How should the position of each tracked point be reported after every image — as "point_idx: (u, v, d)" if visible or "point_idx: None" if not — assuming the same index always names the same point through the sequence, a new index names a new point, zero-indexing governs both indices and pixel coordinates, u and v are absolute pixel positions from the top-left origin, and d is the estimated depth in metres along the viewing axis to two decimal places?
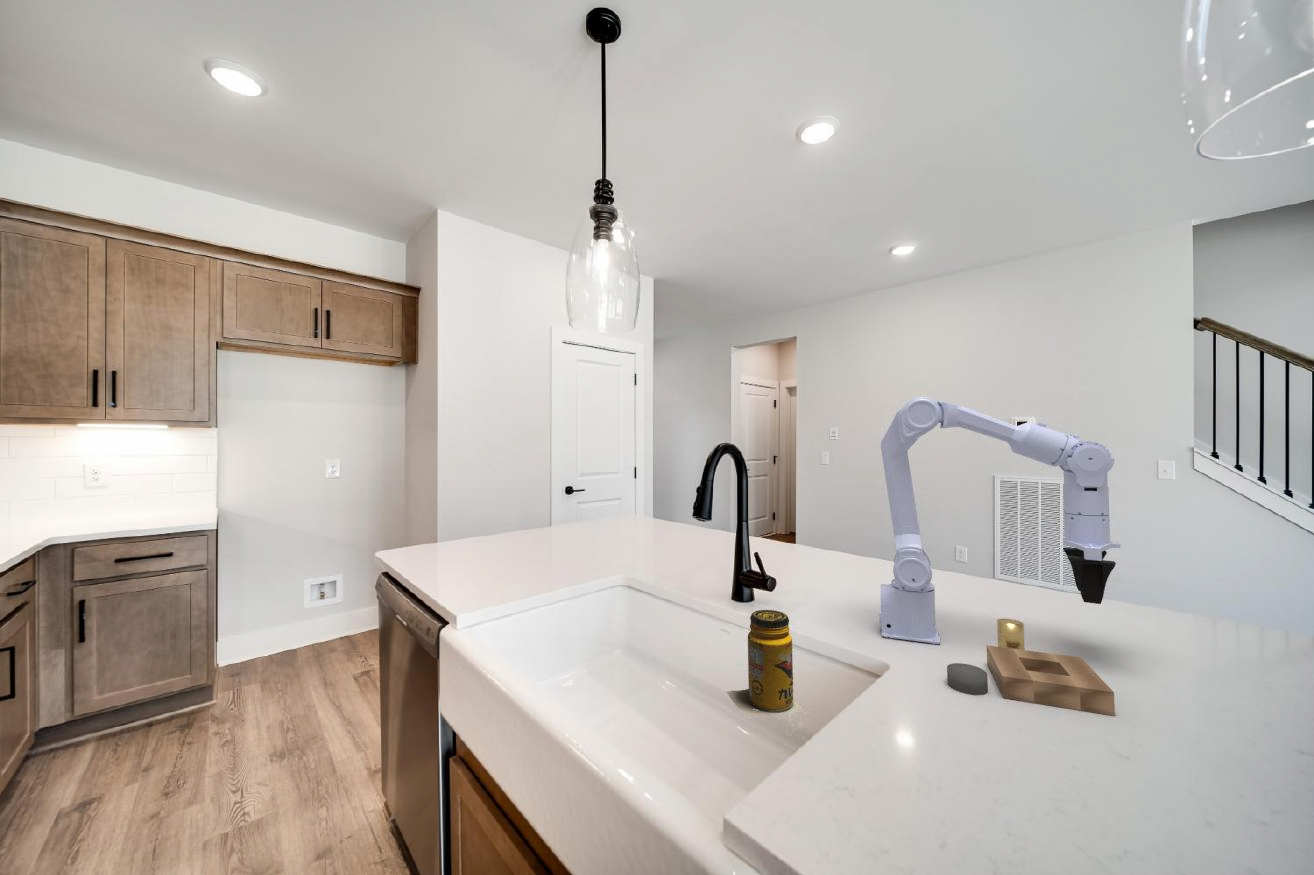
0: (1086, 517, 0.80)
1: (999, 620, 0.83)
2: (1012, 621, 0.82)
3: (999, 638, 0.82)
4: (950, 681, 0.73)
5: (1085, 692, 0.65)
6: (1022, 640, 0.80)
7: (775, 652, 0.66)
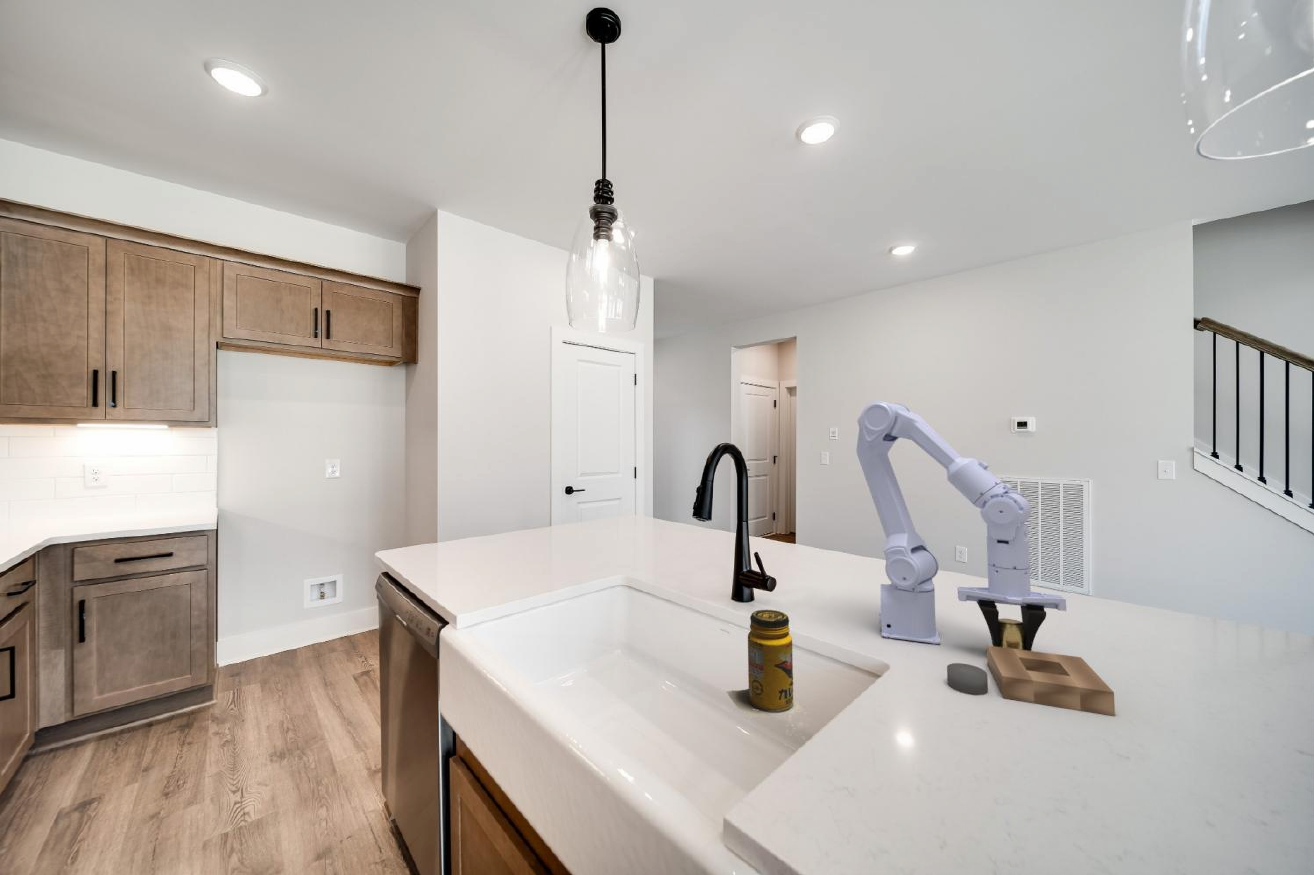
0: None
1: (999, 620, 0.83)
2: (1012, 621, 0.82)
3: (999, 638, 0.82)
4: (950, 681, 0.73)
5: (1085, 692, 0.65)
6: (1022, 640, 0.80)
7: (775, 652, 0.66)
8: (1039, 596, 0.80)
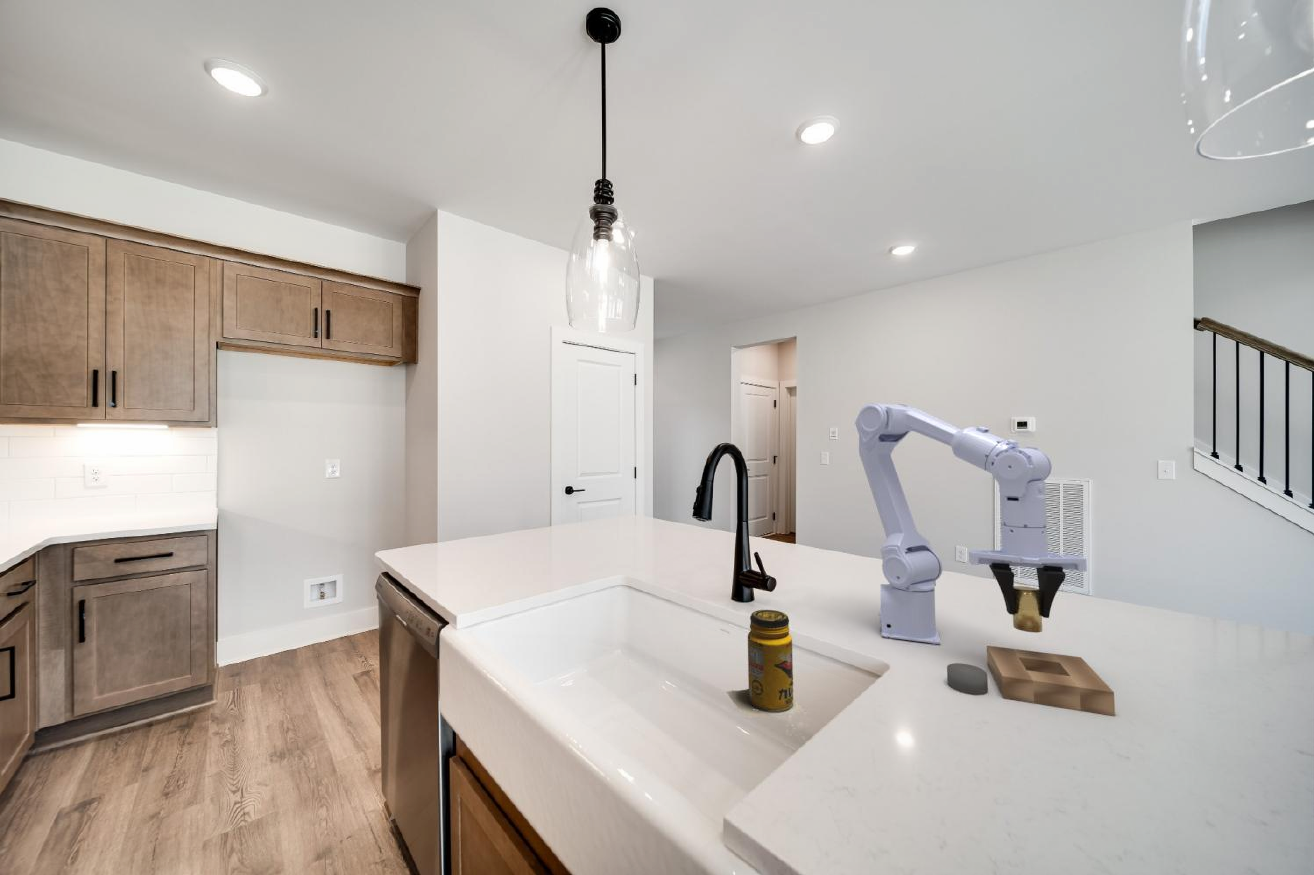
0: (1001, 526, 0.79)
1: (1014, 587, 0.78)
2: (1027, 588, 0.77)
3: None
4: (950, 681, 0.73)
5: (1085, 692, 0.65)
6: (1039, 607, 0.75)
7: (775, 652, 0.66)
8: (1057, 557, 0.75)
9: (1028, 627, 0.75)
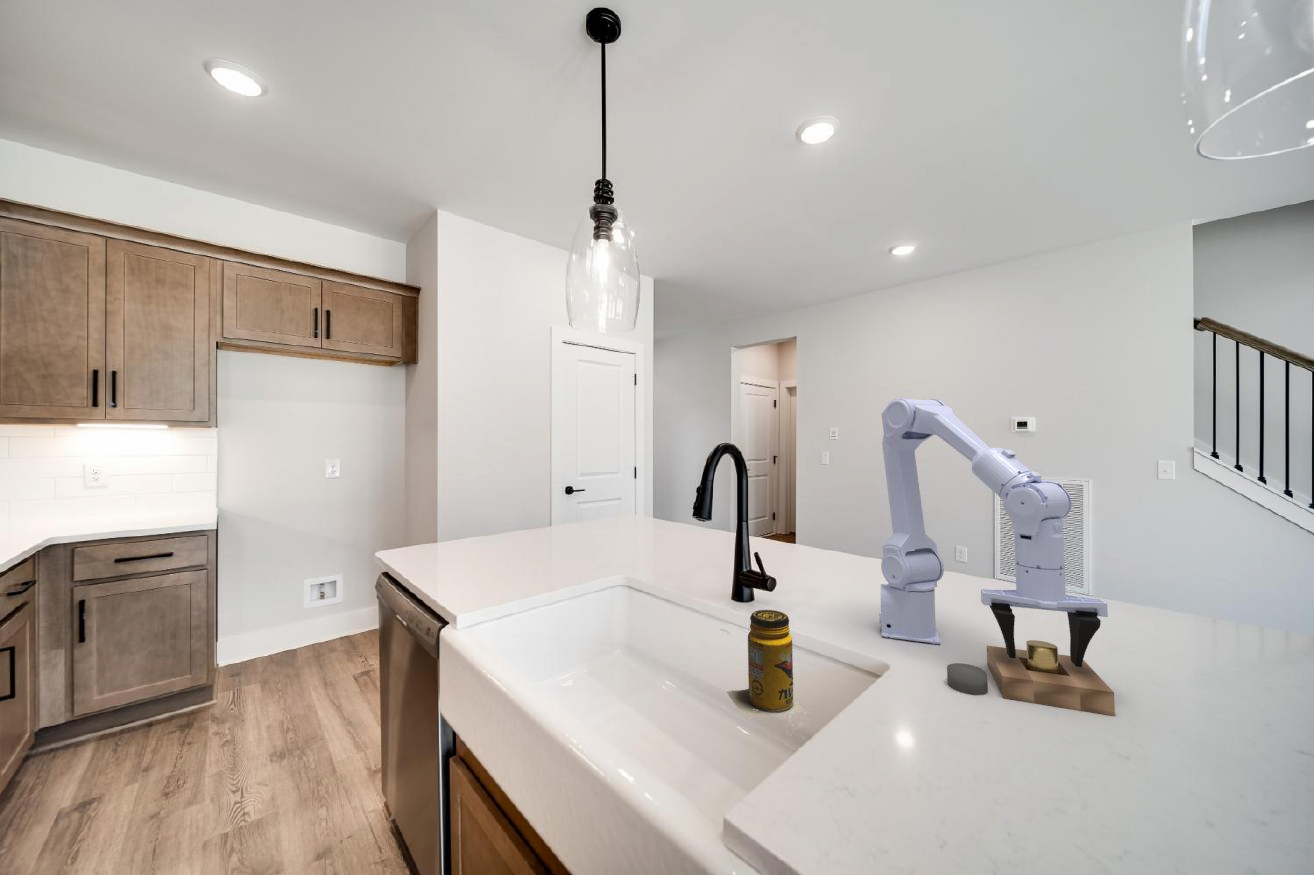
0: (1015, 565, 0.74)
1: (1029, 642, 0.73)
2: (1043, 644, 0.73)
3: (1029, 663, 0.72)
4: (950, 681, 0.73)
5: (1085, 692, 0.65)
6: (1056, 666, 0.71)
7: (775, 652, 0.66)
8: (1075, 600, 0.71)
9: None
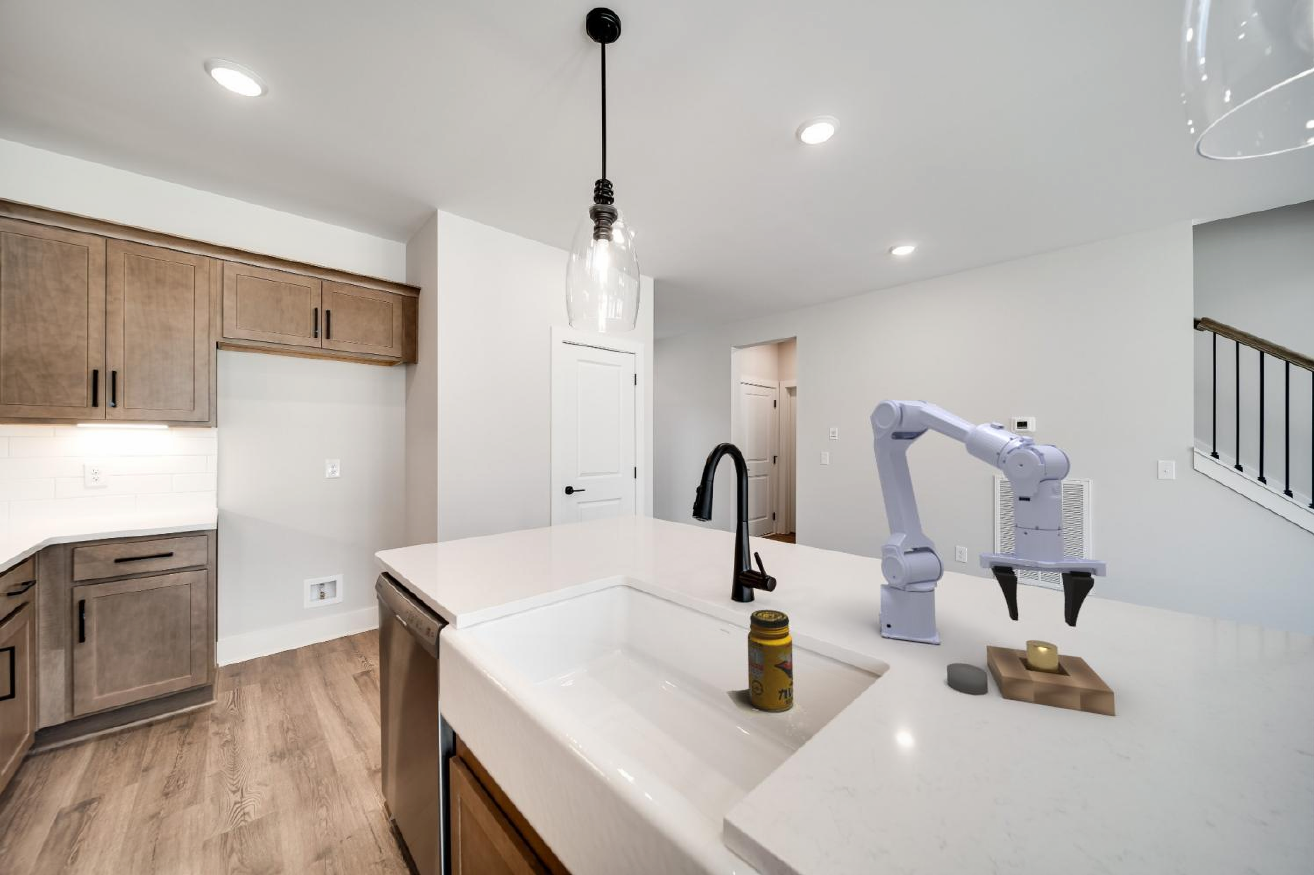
0: (1014, 528, 0.74)
1: (1029, 642, 0.73)
2: (1043, 643, 0.73)
3: (1029, 663, 0.72)
4: (950, 681, 0.73)
5: (1085, 692, 0.65)
6: (1056, 666, 0.71)
7: (775, 652, 0.66)
8: (1074, 561, 0.71)
9: None
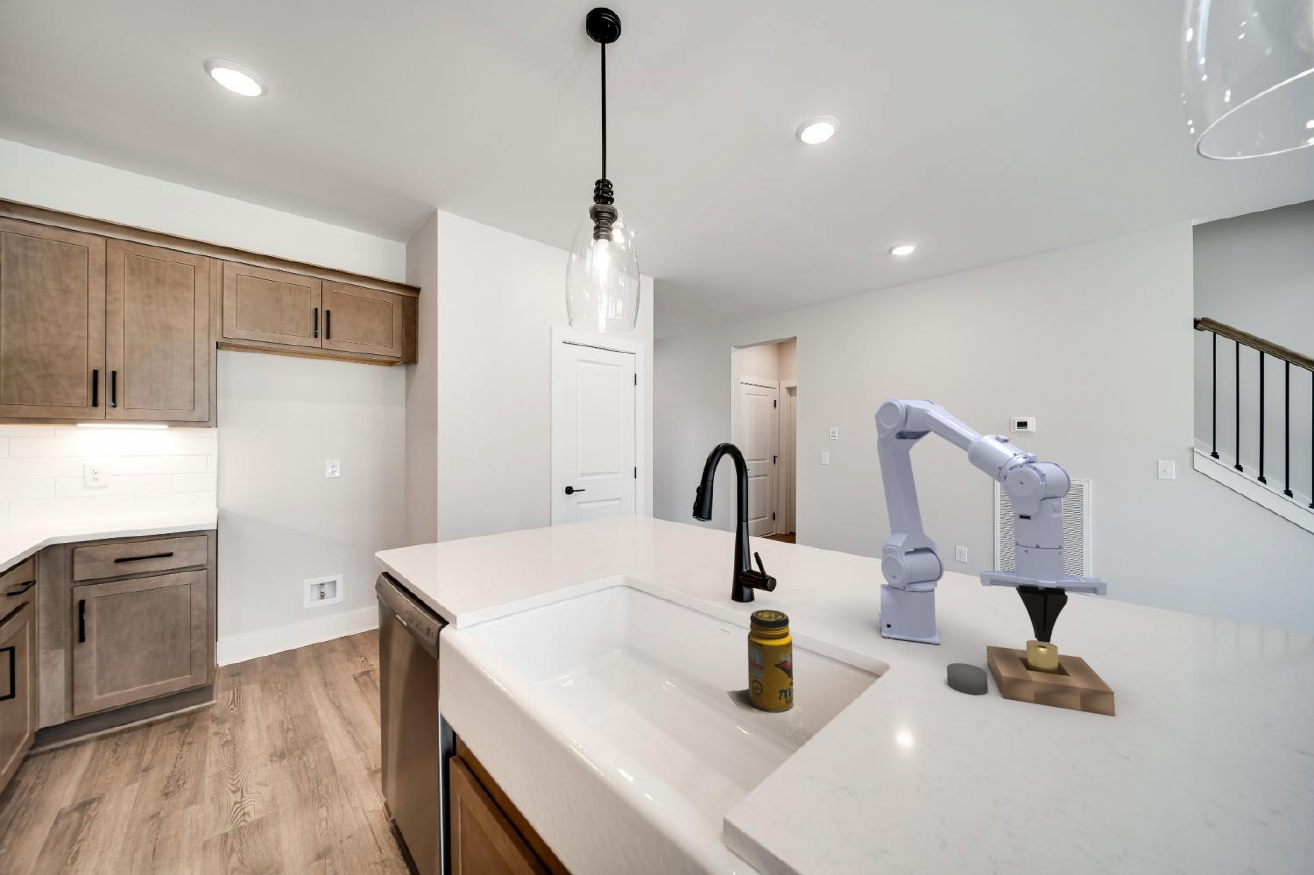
0: None
1: (1029, 642, 0.73)
2: (1043, 643, 0.73)
3: (1029, 663, 0.72)
4: (950, 681, 0.72)
5: (1085, 692, 0.65)
6: (1056, 666, 0.71)
7: (775, 652, 0.66)
8: (1075, 579, 0.71)
9: None
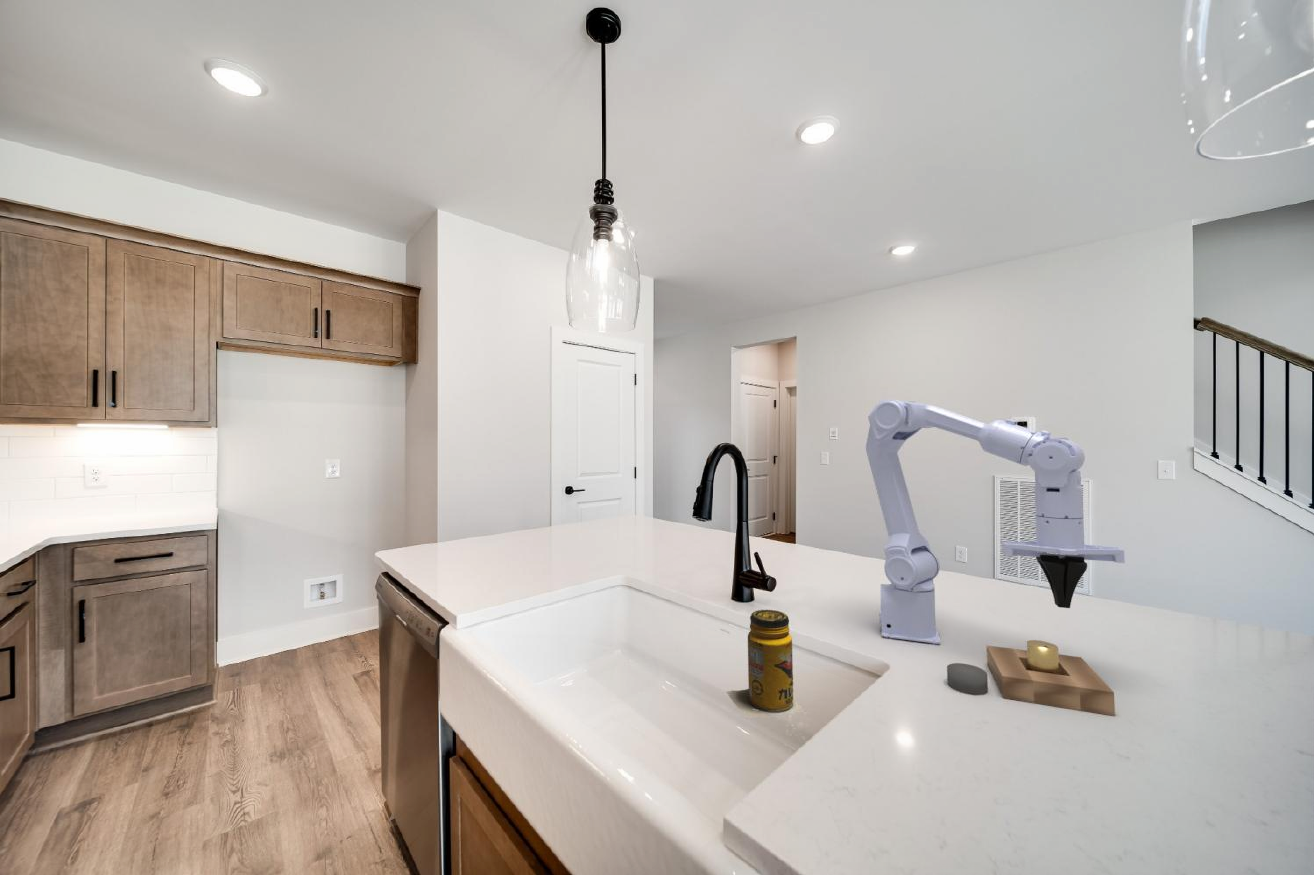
0: None
1: (1029, 642, 0.73)
2: (1044, 644, 0.73)
3: (1030, 663, 0.72)
4: (950, 681, 0.72)
5: (1085, 692, 0.65)
6: (1057, 666, 0.71)
7: (775, 652, 0.66)
8: (1093, 548, 0.75)
9: None
